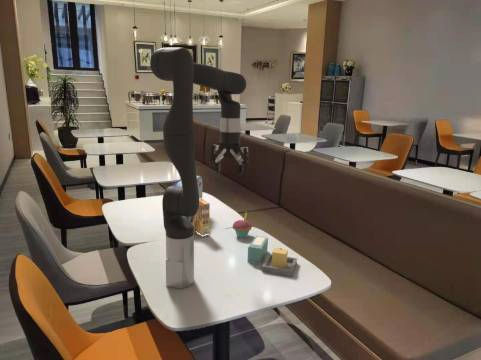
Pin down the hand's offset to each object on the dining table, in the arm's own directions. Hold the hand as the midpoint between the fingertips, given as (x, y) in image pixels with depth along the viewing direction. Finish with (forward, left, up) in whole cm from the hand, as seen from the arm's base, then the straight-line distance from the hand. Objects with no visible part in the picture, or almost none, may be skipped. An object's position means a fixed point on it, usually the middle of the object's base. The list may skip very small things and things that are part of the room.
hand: (229, 173), depth 142 cm
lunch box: (+32, +32, -33) cm, 56 cm away
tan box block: (-4, -22, -32) cm, 39 cm away
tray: (-4, -22, -33) cm, 40 cm away
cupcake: (+20, 0, -33) cm, 39 cm away
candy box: (+16, +18, -33) cm, 41 cm away
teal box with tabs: (+2, -12, -33) cm, 35 cm away
